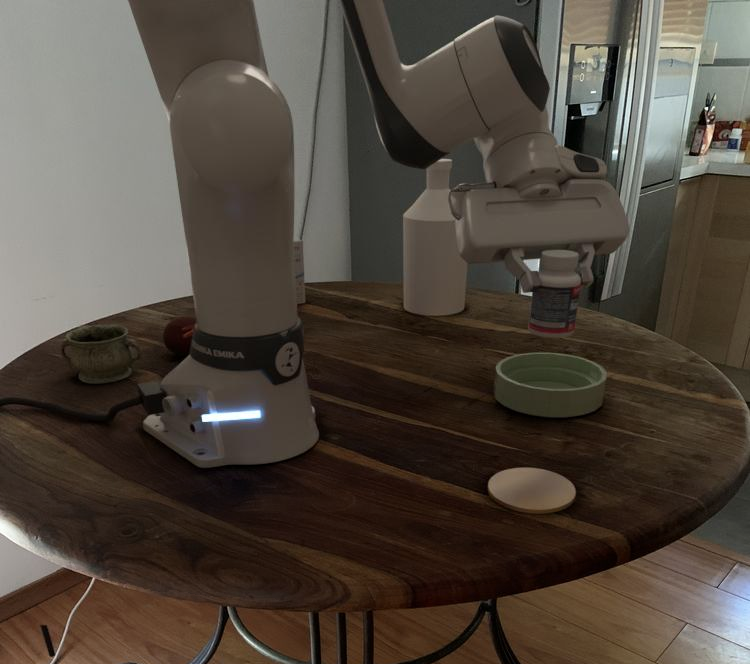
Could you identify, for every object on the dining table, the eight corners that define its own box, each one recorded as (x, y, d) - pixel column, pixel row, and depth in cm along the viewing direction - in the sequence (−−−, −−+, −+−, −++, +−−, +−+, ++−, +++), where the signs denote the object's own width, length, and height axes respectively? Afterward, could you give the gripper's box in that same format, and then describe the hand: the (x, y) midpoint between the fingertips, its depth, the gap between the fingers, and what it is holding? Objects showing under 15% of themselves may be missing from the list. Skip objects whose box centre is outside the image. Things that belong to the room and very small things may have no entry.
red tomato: (198, 344, 119) (193, 307, 116) (229, 357, 114) (224, 318, 111) (156, 354, 115) (150, 316, 112) (186, 369, 109) (181, 329, 106)
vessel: (53, 385, 104) (42, 342, 101) (77, 364, 112) (67, 323, 109) (136, 385, 104) (128, 342, 100) (154, 364, 111) (148, 323, 108)
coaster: (471, 495, 76) (471, 491, 76) (513, 463, 82) (513, 459, 82) (551, 523, 71) (551, 519, 71) (589, 487, 77) (590, 483, 77)
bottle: (479, 308, 136) (488, 160, 123) (428, 319, 130) (433, 165, 117) (438, 295, 144) (443, 155, 132) (389, 305, 138) (389, 159, 126)
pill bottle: (574, 340, 82) (585, 259, 78) (527, 337, 83) (535, 257, 79) (573, 326, 87) (583, 249, 82) (528, 324, 88) (536, 247, 83)
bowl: (474, 402, 97) (475, 374, 95) (524, 372, 107) (527, 345, 105) (574, 429, 90) (578, 399, 88) (619, 394, 99) (624, 366, 97)
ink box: (264, 309, 136) (258, 243, 131) (255, 303, 140) (249, 238, 134) (306, 303, 140) (303, 238, 134) (296, 297, 144) (292, 234, 138)
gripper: (452, 165, 79) (484, 278, 76) (617, 159, 85) (652, 265, 81) (435, 203, 85) (464, 309, 82) (590, 196, 91) (622, 295, 87)
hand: (559, 287), depth 82 cm, fingers closed on pill bottle, 5 cm apart
